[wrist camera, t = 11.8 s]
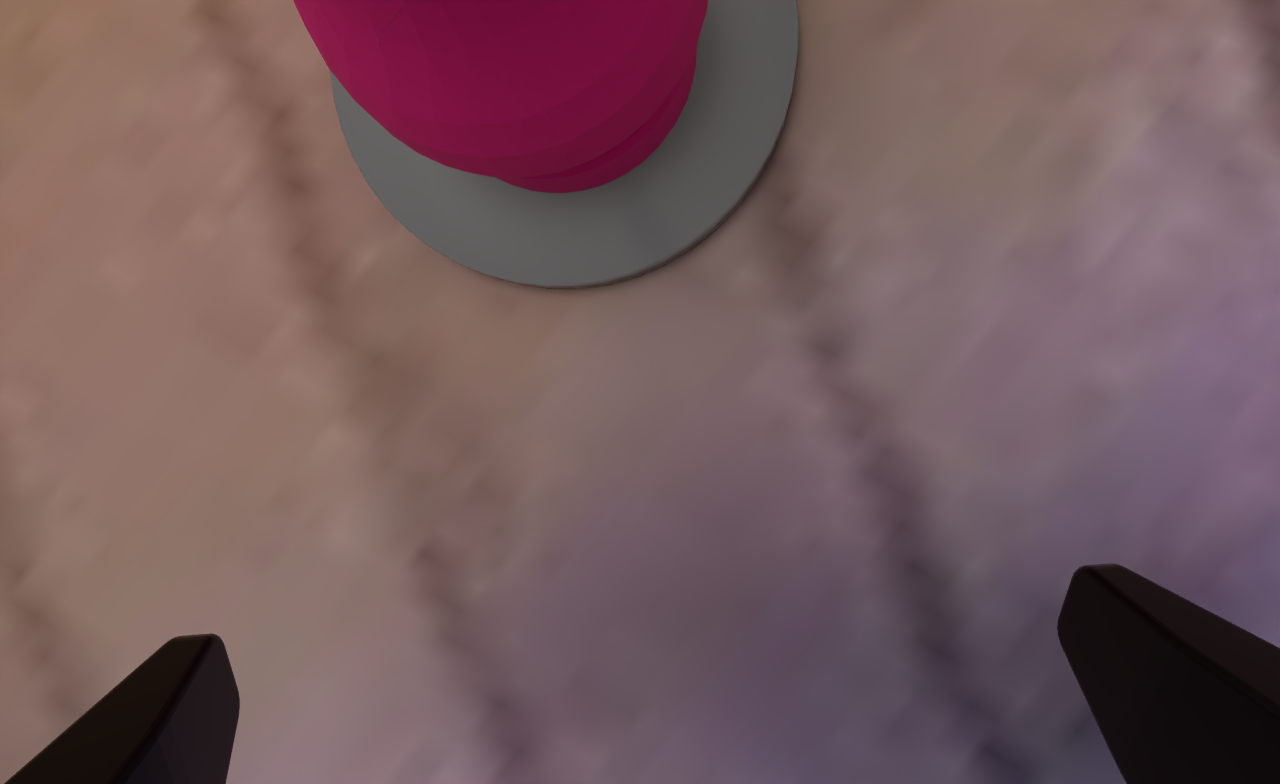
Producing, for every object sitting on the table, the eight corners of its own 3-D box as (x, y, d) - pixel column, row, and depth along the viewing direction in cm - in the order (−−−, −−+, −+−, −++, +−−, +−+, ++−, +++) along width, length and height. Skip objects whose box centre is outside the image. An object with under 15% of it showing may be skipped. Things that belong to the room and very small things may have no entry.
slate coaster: (894, 71, 20) (903, 52, 19) (546, 381, 21) (534, 382, 20) (588, -265, 20) (578, -304, 19) (268, 55, 22) (240, 37, 21)
